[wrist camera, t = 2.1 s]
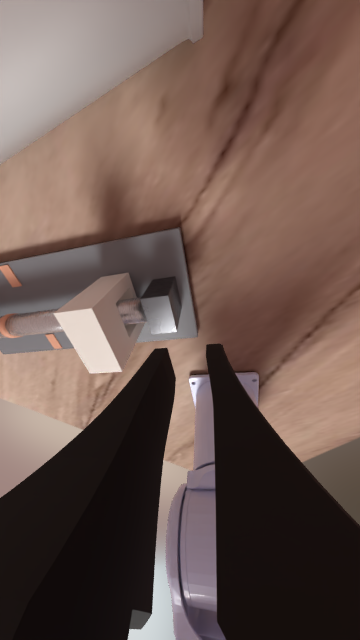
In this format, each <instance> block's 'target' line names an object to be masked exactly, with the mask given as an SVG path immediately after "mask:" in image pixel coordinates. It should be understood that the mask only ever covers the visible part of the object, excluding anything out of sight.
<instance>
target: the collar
mask: <svg viewBox="0 0 360 640" xmlns="http://www.w3.org/2000/svg"><path fill="white" fill-rule="evenodd" d="M132 298H137V297H136V294H135V291H134V288H133V285H132V282H131V279H130V276H129V273H122V274H116V275H110V276H104V277H101V278H99V279H98V280H97V281H95V282H94V283H93V284H91V285H90V286H89V287H87V288H86V289H85V290H83V291H82V292H81V293H79V294H78V295H77V296H76V297H74V298H73V299H72V300H70V301H69V302H68V303H66V304H65V305H64V306H62V307H61V308H60V309H58V310H57V311H56V312H54V313H53V314H54V315H55V317H56V319H57V320H58V322H59V324H60V325H61V327H62V328H63V330H64V332H65V333H66V335H67V337H68V338H69V340H70V342H71V343H72V345H73V346H74V348H75V350H76V351H77V353H78V355H79V356H80V358H81V360H82V361H83V363H84V364H85V366H86V368H87V369H88V371H89V373H107V372H122V371H123V369H124V367H125V365H126V363H127V360H128V358H129V356H130V354H131V352H132V350H133V348H134V346H135V343H136V341H137V339H138V337H139V335H140V333H141V331H142V329H143V326H144V324H145V323H136V324H127V325H124V323H123V321H122V318H121V316H120V313H119V311H118V309H117V306H116V302H117V301H118V300H125V299H132Z"/></svg>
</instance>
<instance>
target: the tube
mask: <svg viewBox="0 0 360 640" xmlns="http://www.w3.org/2000/svg"><path fill="white" fill-rule="evenodd" d="M203 35H204V30H203V0H0V165H1V164H2V163H4V162H5V161H7V160H8V159H10V158H11V157H12V156H14V155H15V154H17V153H18V152H20V151H21V150H23V149H24V148H26V147H27V146H29V145H30V144H32V143H33V142H35V141H36V140H38V139H39V138H41V137H42V136H44V135H45V134H47V133H48V132H49V131H51V130H52V129H54V128H55V127H57V126H58V125H60V124H61V123H63V122H64V121H66V120H67V119H69V118H70V117H72V116H73V115H75V114H76V113H78V112H79V111H81V110H82V109H83V108H85V107H86V106H88V105H89V104H91V103H92V102H94V101H95V100H97V99H98V98H100V97H101V96H103V95H104V94H106V93H107V92H109V91H110V90H112V89H113V88H115V87H116V86H118V85H119V84H120V83H122V82H123V81H125V80H126V79H128V78H129V77H131V76H132V75H134V74H135V73H137V72H138V71H140V70H141V69H143V68H144V67H146V66H147V65H149V64H150V63H152V62H153V61H155V60H156V59H157V58H159V57H160V56H162V55H163V54H165V53H166V52H168V51H169V50H171V49H172V48H174V47H175V46H177V45H178V44H180V43H181V42H183V41H185V40H187V39H189V40H191V41H192V43H195V42H196V41H198V40H200V39H201V38H202V37H203Z"/></svg>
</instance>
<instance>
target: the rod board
mask: <svg viewBox="0 0 360 640" xmlns="http://www.w3.org/2000/svg"><path fill="white" fill-rule="evenodd" d="M122 273H129V276H130V279H131V282H132V285H133V288H134V291H135V294H136V297H137V298H132V299H125V300H118V301H117V302H116V306H117V309H118V311H119V313H120V316H121V318H122V321H123V323H124V325H127V324H136V323H145V324H144V326H143V329H142V331H141V333H140V335H139V337H138V339H137V341H136V343H137V342H149V341H160V340H171V339H183V338H194V337H198V329H197V323H196V317H195V312H194V306H193V300H192V294H191V288H190V282H189V276H188V270H187V265H186V259H185V253H184V247H183V241H182V235H181V229H180V227H178V228H173V229H168V230H163V231H158V232H153V233H148V234H142V235H137V236H132V237H127V238H122V239H117V240H112V241H107V242H102V243H97V244H92V245H87V246H82V247H77V248H72V249H67V250H62V251H57V252H52V253H47V254H42V255H37V256H32V257H27V258H22V259H17V260H12V261H7V262H2V263H0V351H1V352H2V353H3V354H14V353H25V352H36V351H47V350H59V349H70V348H74V346H73V345H72V343H71V342H70V340H69V338H68V337H67V335H66V333H65V332H64V330H63V328H62V327H61V325H60V324H59V322H58V320H57V319H56V317H55V315H54V314H53V313H54V312H56V311H57V310H58V309H60V308H61V307H62V306H64V305H65V304H66V303H68V302H69V301H70V300H72V299H73V298H74V297H76V296H77V295H78V294H79V293H81V292H82V291H83V290H85V289H86V288H87V287H89V286H90V285H91V284H93V283H94V282H95V281H97V280H98V279H99V278H101V277H104V276H110V275H116V274H122Z"/></svg>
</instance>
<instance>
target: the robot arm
mask: <svg viewBox="0 0 360 640" xmlns="http://www.w3.org/2000/svg"><path fill="white" fill-rule="evenodd" d="M206 358H207V365H208V371H209V374H208V375H191V376H190V377H189V383H190V387H191V392H192V396H193V400H194V404H195V408H196V411H195V440H194V469H193V471H188V476H187V484H182V485H181V486H180V487H179V489H178V491H177V493H176V494H175V496H174V498H173V501H172V503H171V507H170V511H169V517H168V524H167V534H166V569H167V577H168V583H169V587H170V591H171V598H172V608H173V622H174V634H175V637H176V640H360V526H359V524H358V523H357V522H356V521H355V520H354V519H353V518H352V517H351V516H350V515H349V514H348V513H347V512H346V511H345V510H344V509H343V508H342V506H341V505H340V504H338V502H337V501H336V500H335V499H334V498H333V497H332V496H331V495H330V494H329V493H328V491H327V490H326V489H325V488H324V487H323V486H322V485H321V484H320V483H319V482H318V481H317V479H316V478H315V477H314V476H313V475H312V474H311V473H310V471H309V470H308V469H307V468H306V467H305V466H304V465H303V463H302V462H301V461H300V460H299V459H298V458H297V457H296V455H295V454H294V453H293V452H292V451H291V450H290V449H289V447H288V446H287V445H286V444H285V443H284V441H283V440H282V439H281V438H280V437H279V435H278V434H277V433H276V432H275V430H274V429H273V428H272V427H271V425H270V424H269V423H268V421H267V420H266V419H265V417H264V416H263V415H262V413H261V412H260V411H259V409H258V390H259V375H258V373H256V372H246V373H235V372H234V370H233V369H232V367H231V365H230V363H229V361H228V359H227V356H226V354H225V351H224V348H223V345H221V344H209V345H206ZM175 381H176V377H175V374H174V370H173V367H172V363H171V360H170V356H169V353H168V349H167V348H159V349H154V351H153V352H152V353H151V354H150V356H149V357H148V358H147V360H146V361H145V362H144V363H143V365H142V366H141V367H140V369H139V370H138V371H137V372H136V374H135V375H134V376H133V377H132V379H131V380H130V381H129V382H128V384H127V385H126V386H125V387H124V388H123V389H122V391H121V392H120V393H119V394H118V395H117V396H116V397H115V398H114V400H113V401H112V402H111V403H110V404H109V405H108V406H107V407H106V408H105V409H104V410H103V411H102V413H101V414H100V415H99V416H98V417H96V418H95V419H94V420H93V421H92V422H91V423H90V424H89V425H88V426H87V427H86V428H85V429H84V430H83V431H82V432H81V433H80V434H79V435H77V436H76V437H75V438H74V439H73V440H72V441H71V442H69V443H68V444H67V445H66V446H65V447H64V448H63V449H62V450H61V451H59V452H58V453H57V454H56V455H55V456H53V457H52V458H51V459H50V460H49V461H47V462H46V463H45V464H44V465H43V466H41V467H40V468H39V469H38V470H36V471H35V472H34V473H33V474H31V475H30V476H29V477H27V478H26V479H25V480H24V481H22V482H21V483H20V484H18V485H17V486H16V487H15V488H13V489H12V490H11V491H9V492H8V493H7V494H5V495H4V496H3V497H1V498H0V640H127V639H128V633H129V629H141V628H142V627H143V626H144V625H145V624H146V622H147V621H148V619H149V618H150V616H151V614H152V600H153V582H154V565H155V547H156V534H157V521H158V508H159V497H160V486H161V476H162V466H163V458H164V451H165V445H166V440H167V435H168V429H169V424H170V419H171V414H172V408H173V403H174V395H175Z"/></svg>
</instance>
